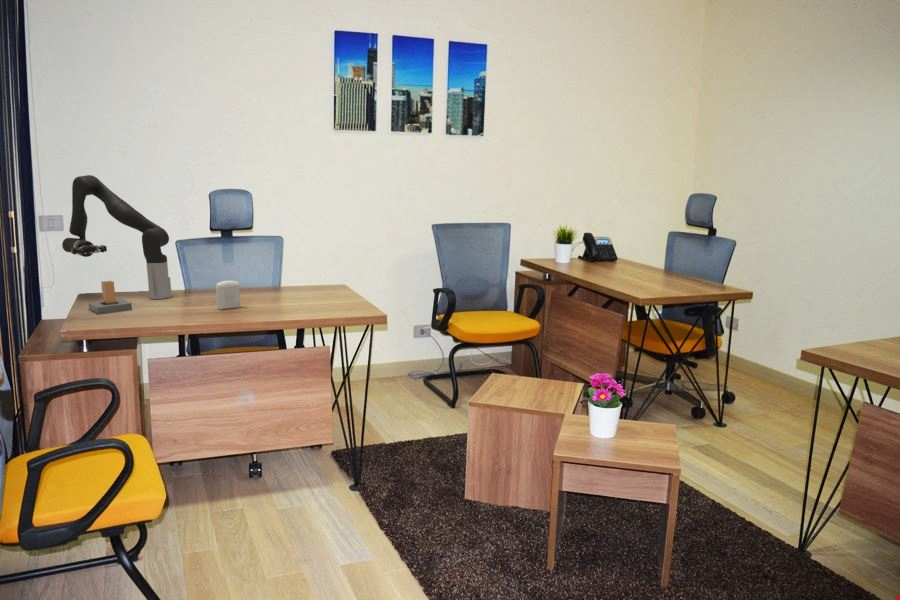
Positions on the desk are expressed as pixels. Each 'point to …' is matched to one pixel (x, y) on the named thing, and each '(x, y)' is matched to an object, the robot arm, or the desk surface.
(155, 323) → the desk surface
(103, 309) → the well stand
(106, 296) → the bracket post
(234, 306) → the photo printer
